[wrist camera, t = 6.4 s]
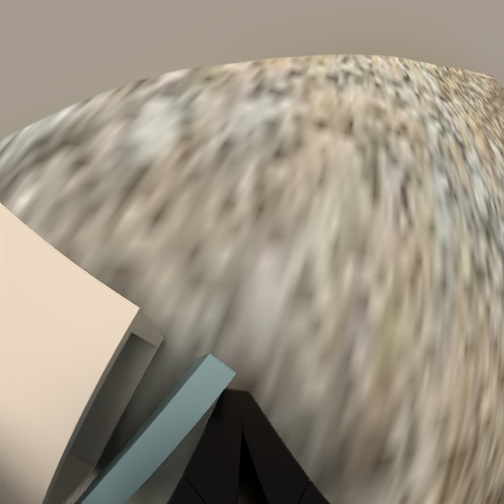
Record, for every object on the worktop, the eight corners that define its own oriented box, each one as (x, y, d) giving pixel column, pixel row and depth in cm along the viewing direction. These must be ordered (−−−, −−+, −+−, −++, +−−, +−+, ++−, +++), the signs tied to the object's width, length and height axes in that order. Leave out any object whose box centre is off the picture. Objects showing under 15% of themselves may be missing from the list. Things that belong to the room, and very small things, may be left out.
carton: (92, 472, 10) (27, 545, 3) (-14, 384, 10) (-114, 376, 3) (164, 338, 14) (139, 307, 6) (50, 260, 14) (-28, 176, 6)
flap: (116, 497, 10) (76, 578, 3) (93, 479, 10) (35, 550, 3) (220, 376, 14) (259, 390, 7) (197, 358, 14) (209, 352, 7)
